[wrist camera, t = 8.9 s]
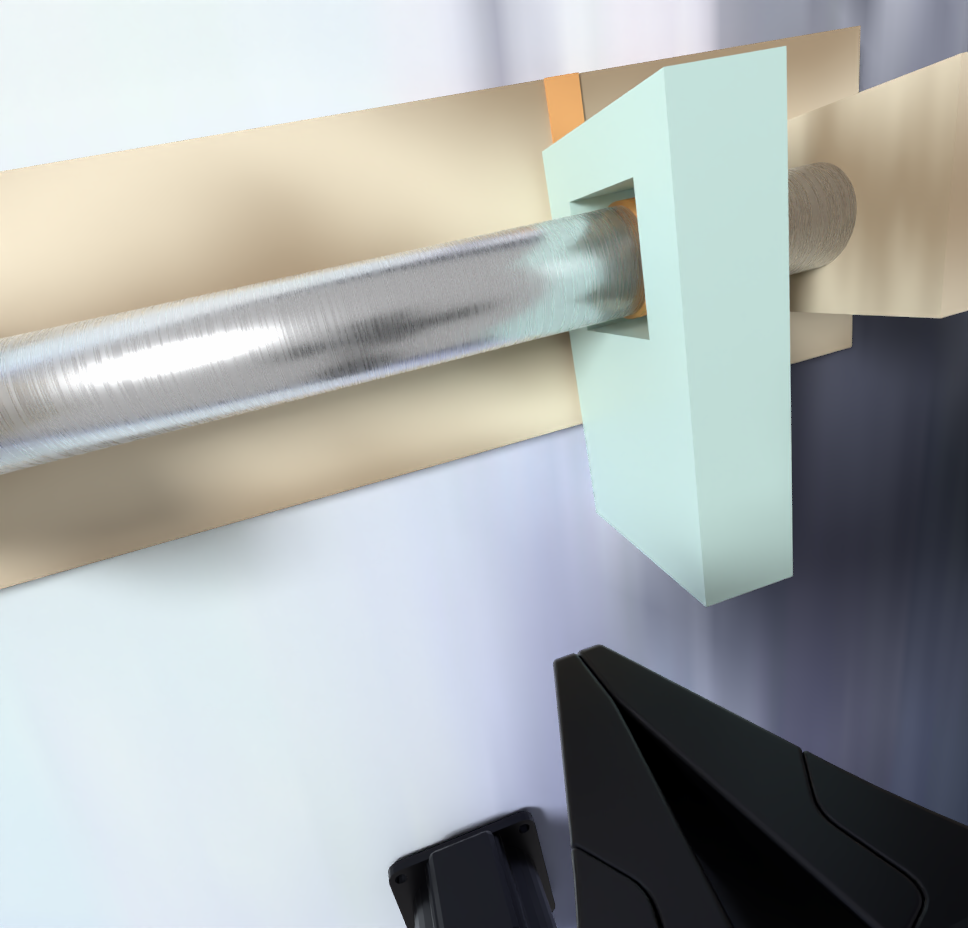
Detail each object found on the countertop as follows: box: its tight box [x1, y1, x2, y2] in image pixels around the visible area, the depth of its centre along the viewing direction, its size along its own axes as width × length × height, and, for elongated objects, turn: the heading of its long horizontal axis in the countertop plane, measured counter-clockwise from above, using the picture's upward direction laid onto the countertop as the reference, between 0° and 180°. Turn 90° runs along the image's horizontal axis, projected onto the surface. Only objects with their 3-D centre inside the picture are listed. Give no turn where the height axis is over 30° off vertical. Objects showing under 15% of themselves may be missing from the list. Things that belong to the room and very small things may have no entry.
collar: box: [542, 46, 793, 607], centre depth 15 cm, size 11×2×6 cm, turn 12°
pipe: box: [0, 162, 857, 475], centre depth 12 cm, size 3×30×3 cm, turn 102°
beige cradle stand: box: [0, 26, 968, 589], centre depth 13 cm, size 10×34×8 cm, turn 102°
